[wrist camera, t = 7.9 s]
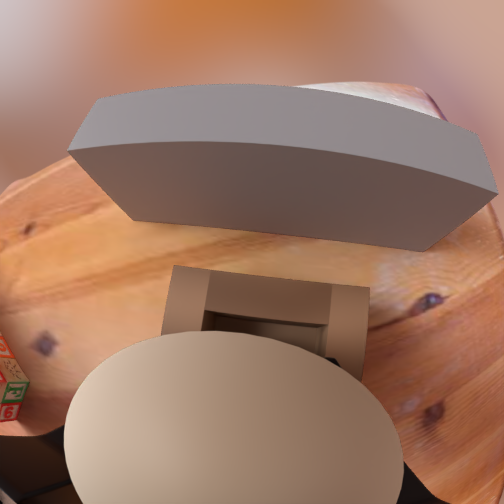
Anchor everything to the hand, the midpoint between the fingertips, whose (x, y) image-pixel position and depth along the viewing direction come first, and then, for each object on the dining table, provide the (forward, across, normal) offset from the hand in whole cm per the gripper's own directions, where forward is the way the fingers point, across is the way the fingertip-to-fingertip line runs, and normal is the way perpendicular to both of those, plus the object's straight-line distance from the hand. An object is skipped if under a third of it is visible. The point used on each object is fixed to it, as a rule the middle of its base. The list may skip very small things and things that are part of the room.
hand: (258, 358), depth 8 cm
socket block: (+5, 0, +7) cm, 8 cm away
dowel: (+4, 0, +6) cm, 7 cm away
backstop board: (+13, 0, -1) cm, 13 cm away
